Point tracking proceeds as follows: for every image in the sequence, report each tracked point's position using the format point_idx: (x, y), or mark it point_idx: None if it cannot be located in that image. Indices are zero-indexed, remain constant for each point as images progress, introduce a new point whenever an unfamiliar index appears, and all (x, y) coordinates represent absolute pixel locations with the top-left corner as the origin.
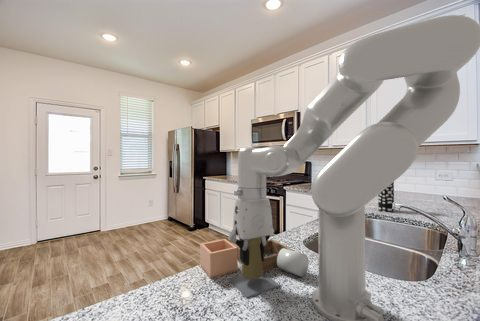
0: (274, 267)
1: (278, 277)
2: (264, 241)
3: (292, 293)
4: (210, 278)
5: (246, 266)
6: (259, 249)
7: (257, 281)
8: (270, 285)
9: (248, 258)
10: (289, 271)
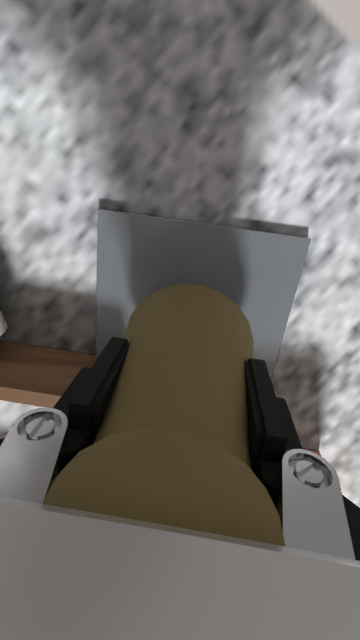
0: (17, 347)
1: (52, 277)
2: (26, 447)
3: (84, 113)
4: (318, 452)
5: None
6: (133, 398)
7: None
8: (142, 239)
9: (256, 384)
10: None
